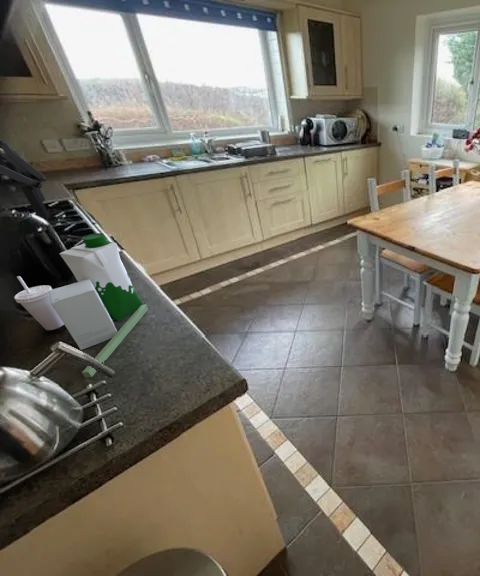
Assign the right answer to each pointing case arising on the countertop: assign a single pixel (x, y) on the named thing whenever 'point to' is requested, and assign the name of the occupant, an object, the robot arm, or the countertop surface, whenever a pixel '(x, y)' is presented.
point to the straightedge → (116, 339)
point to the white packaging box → (83, 313)
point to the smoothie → (39, 305)
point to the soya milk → (104, 274)
